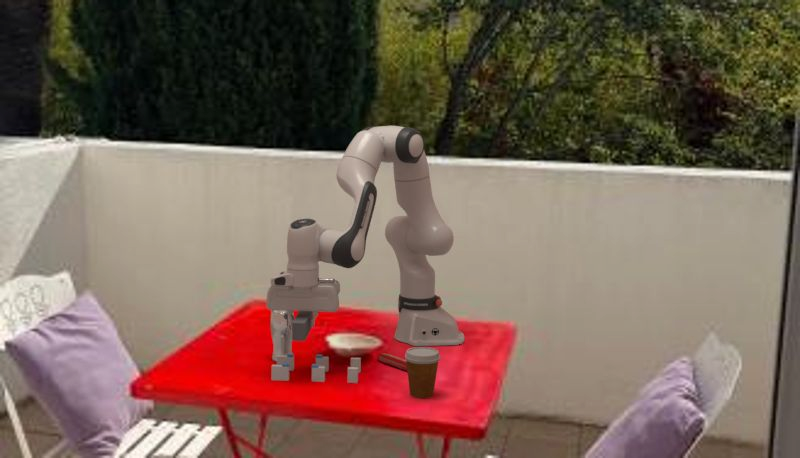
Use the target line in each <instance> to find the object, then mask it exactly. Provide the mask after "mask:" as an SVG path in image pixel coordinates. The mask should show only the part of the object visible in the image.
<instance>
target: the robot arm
mask: <svg viewBox="0 0 800 458" xmlns="http://www.w3.org/2000/svg"><path fill="white" fill-rule="evenodd" d="M381 162H382V163H388V164H390V163H391V164H392V163H393V168H392V169H393V179H394V187H395V195H396V203H397V204H398V205H399V207H400V208H402V210H403V211H404V213H405V214H406V215H397V216H393V217H392V218H389V220H388V221H387V224H386V226H385V229H384V236H385V237H384V238H385V240H386V241H387V242H388V244H389V245H390V247H391V248H392V250H393V251H394V254H395V257H396V260H397V263H398V267H399V279H400V281H399V286H400V287H399V289H400V290H399V292H400V293H399V294H398V298H397V301H398V302H397V303H398V304H397V306H398V307H397V308H398V309H397V310H398V320H397V326H396V330H395V332H394V333H395V334H394V339H395V340H397V341H399V342H401V343H405V344H409V345H410V346H412V347H413V346H414V347H429V346H430V347H431V346H459V344H460V345H462V344H463V343H464V342H465V335H464V333H463V332H462V331H460V330H459V328H458V323H457V320H456V318H455V317H454V316H453V315H452V314H450V313H449V312H448V311H446V309H444V308H443V307H442V305H443V301H442V299H441V296H439V295H437V294H436V271H435V269H434V268H433V266H432V265H431V264H430V263H429V261H428V259H427V256H428V257H429V256H430V257H432V256H433V257H434V256H435V257H436V256H445V255H446V254H448V252H450V251H451V249H452V247H453V245H454V240H455V239H454V237H455V236H454V233H453V231H452V228H450V226H448V225H447V224H446V222H445V221H444V220H443V218H442V217H441V214H440V213H439V210H438V208H437V205H436V204H435V201H434V200H435V199H434V197H433V191H432V185H431V175H430V168H429V163H428V158H427V155H426V152H425V139H424V137H423V135H422V133H421V132H420V131H419V130H417V129H416V128H414V127H410V126H405V127H404V126H400V125H399V126H398V125H382V126H381V125H380V126H378V125H372V126H367V127H365V128H362V130H361V131H359V132H357V133H356V135H355V136H354V137H353V138H352V140H351V141H350V143H349V144H348V146H347V147H346V150H345V151H344V153H343V156H342V158H341V160H340V162H339V164H338V167H337V170H336V176H335V177H336V180H337V183H338V185H339V187H340V188H341V189H342V190H343V192H345V193H346V194H347V195H349V196H350V197H352V198H353V200H354V207H353V210H352V214H351V216H350V217H351V218H350V220H349V224H348V227H347V228H346V229H345V230H338V229H333V228H329V227H326V226H323V225H320V224H318V222H317V221H316V220H315V219H312V218H302V219H301V218H299V219H297V220H294V221H292V222H291V223H290V225H289V227H288V231H287V238H286V240H287V242H286V251H287V252H286V254H287V258H288V260H287V265H286V270H283V271H279V272H276V273H274V274H273V275H272V276H271V277H270V284H271V285H270V286H269V288H268V290H267V294H266V305H265V306H266V308H267V310H269V311H271V310H285V311H287V315H288V317H289V318H290V320H291V326H292V323H293V321H294V319H295V316H294V317H293V315H292V313H293V311H294V312H299V311H313V319H309V327H312V328H313V327H315V321H316V319H317V317H318V316H319V314H320V313H321V312H324V313H336V312H337V311H338V310H339V308H340V299H339V298H340V297H339V294H340V291H341V284H340V282H339V281H338V280H336V279H335V278H325V277H323V278H322V277H321V278H320V265H319V262H322V263H326V264H332V265H336V266H338V267H341V268H345V269H352V268H354V267H356V266H357V265H358V264H359V263H360V262H361V261H362V260H363V258H364V257H365V252H366V243H367V238H368V237H367V236H368V233H369V230H370V226H371V222H372V218H373V215H374V210H375V208H376V207H375V206H376V203H377V198H378V190H377V187H376V185H375V180H376V176H377V173H378V172H379V168H380V167H381V164H382V163H381ZM319 312H320V313H319Z"/></svg>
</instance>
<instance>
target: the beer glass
mask: <svg viewBox="0 0 800 458" xmlns="http://www.w3.org/2000/svg"><path fill="white" fill-rule="evenodd" d="M294 313H295V311H293V313H292V315H293V317H294V318H295V314H294ZM270 332H271V339H272V344H273V352H272V357H271V359H272V361H273V362H276V363H277V355H287V354H288V353H289V354H293V352H292V344H293V341H292V326H291V320H290V318H289V317H288V315H287V311H285V310H270Z"/></svg>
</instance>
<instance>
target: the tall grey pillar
mask: <svg viewBox="0 0 800 458" xmlns="http://www.w3.org/2000/svg"><path fill="white" fill-rule="evenodd" d="M313 317H314V315H313V311H297V314H296V316H294V321H293V323H292V342H306V340H307V338H308V336H309V334H310V332H311V329H312V328H313V327H309V319H313Z"/></svg>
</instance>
